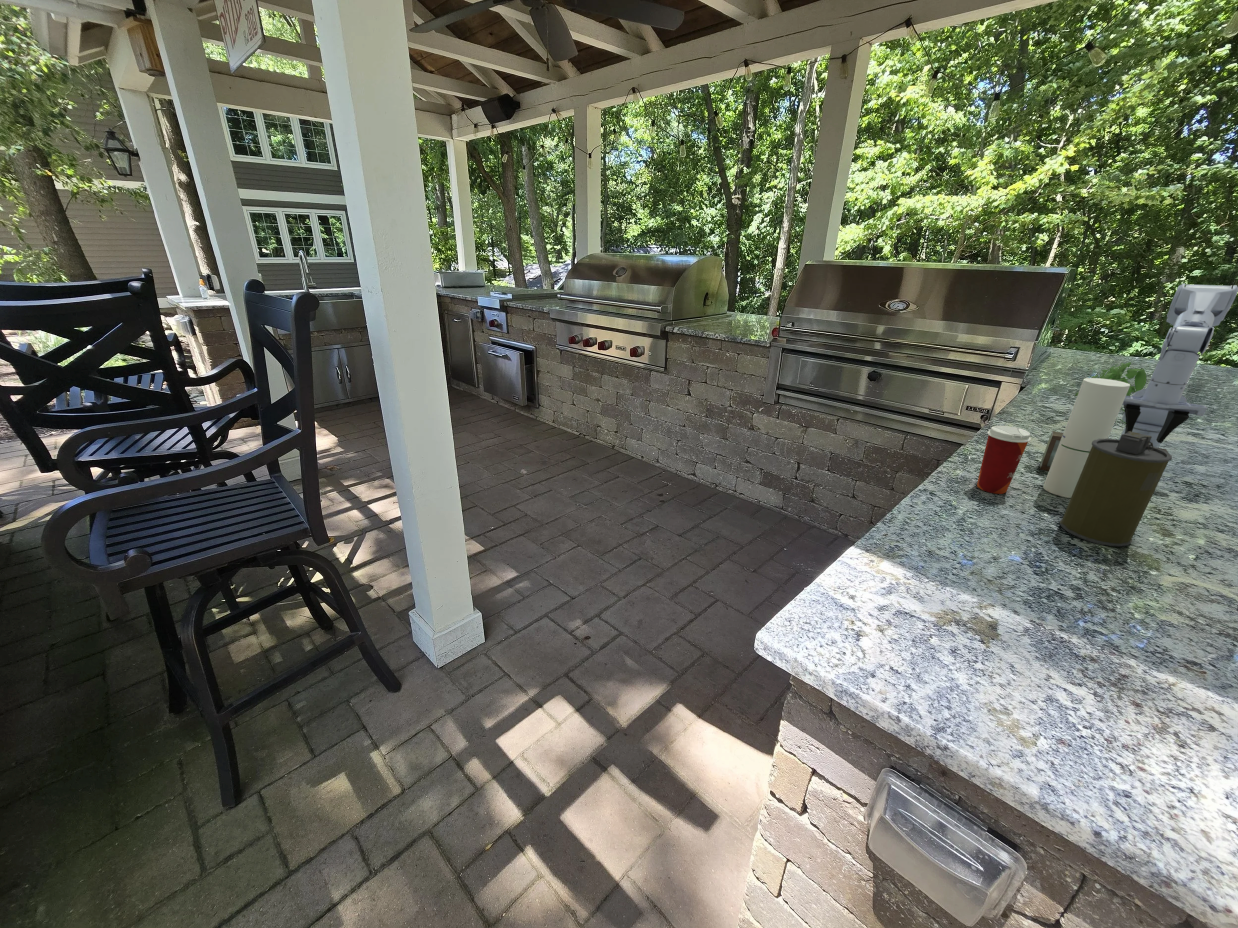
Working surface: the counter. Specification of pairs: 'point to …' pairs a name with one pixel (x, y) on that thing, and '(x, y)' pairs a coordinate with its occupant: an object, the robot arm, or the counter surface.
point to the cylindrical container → (1084, 431)
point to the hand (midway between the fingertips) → (1142, 439)
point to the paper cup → (1001, 458)
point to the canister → (1114, 489)
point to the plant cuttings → (1117, 374)
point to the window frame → (1054, 450)
